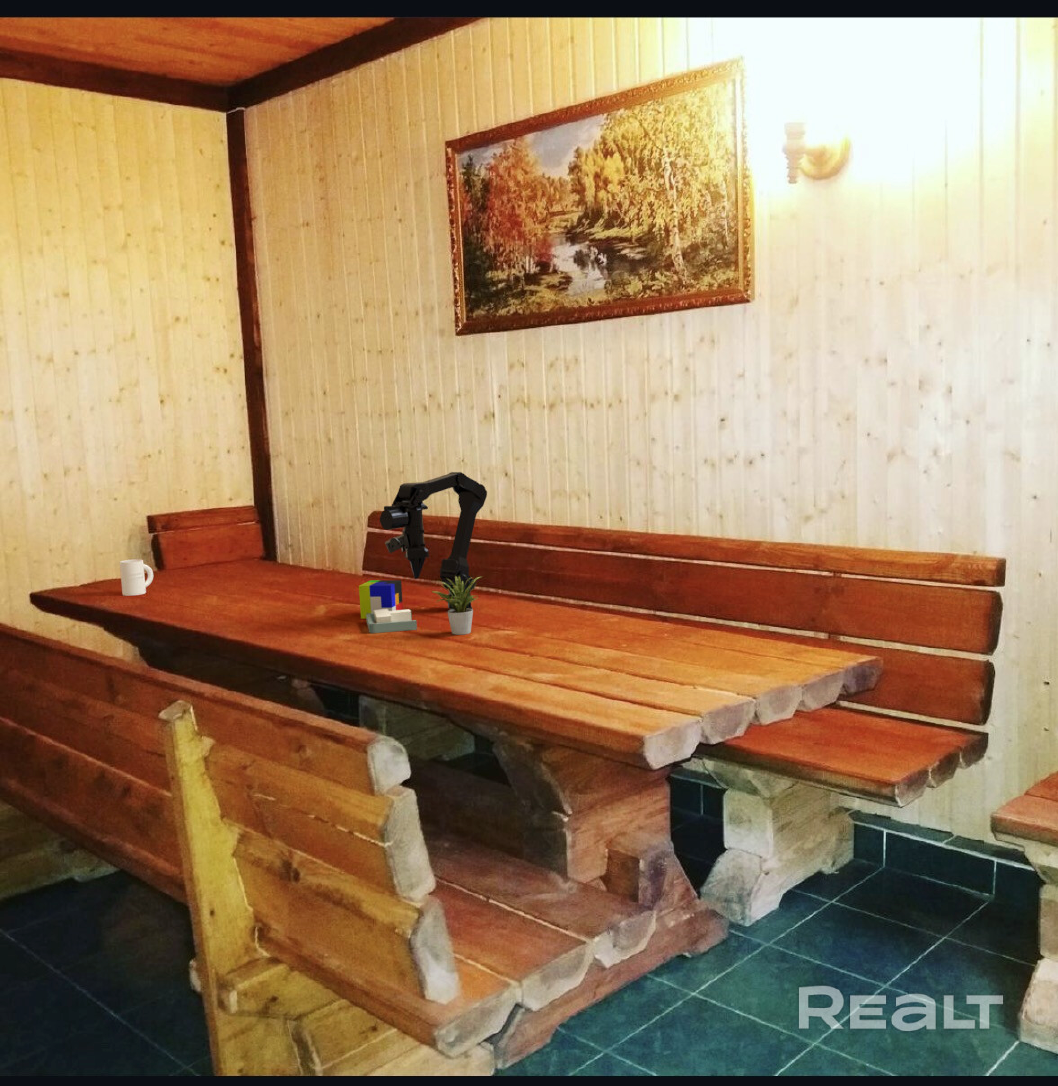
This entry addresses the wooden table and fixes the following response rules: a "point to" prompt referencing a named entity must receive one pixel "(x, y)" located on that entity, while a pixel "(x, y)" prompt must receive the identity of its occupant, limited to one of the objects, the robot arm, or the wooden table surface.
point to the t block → (391, 615)
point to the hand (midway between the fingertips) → (416, 578)
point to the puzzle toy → (380, 596)
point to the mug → (134, 577)
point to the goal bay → (389, 625)
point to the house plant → (459, 606)
